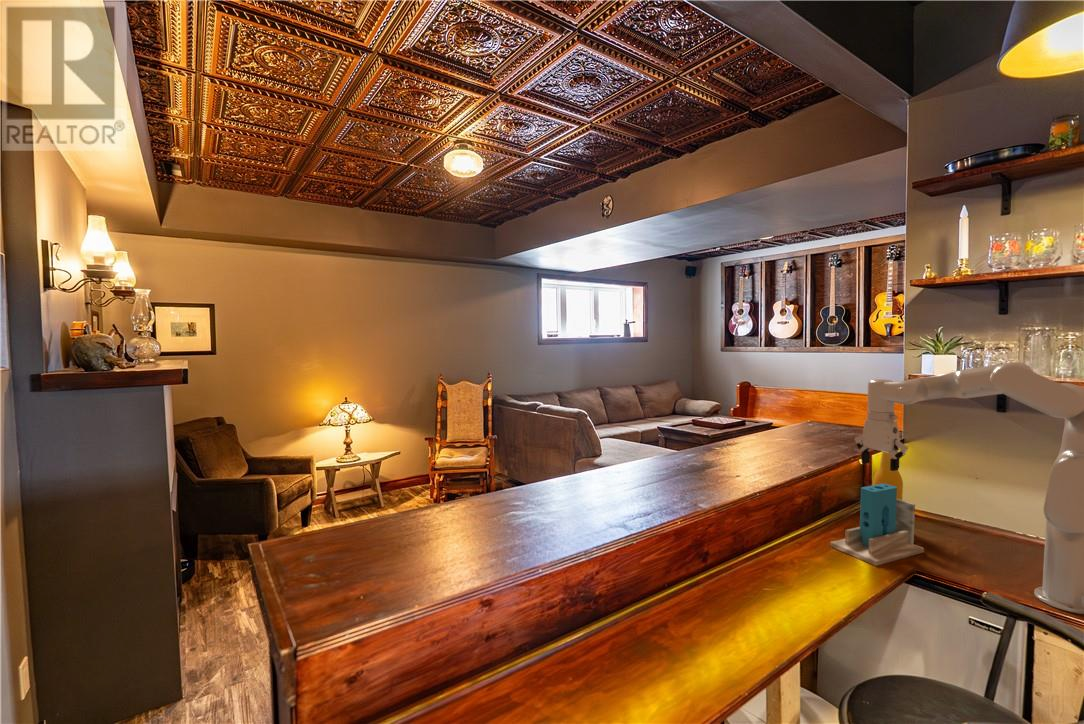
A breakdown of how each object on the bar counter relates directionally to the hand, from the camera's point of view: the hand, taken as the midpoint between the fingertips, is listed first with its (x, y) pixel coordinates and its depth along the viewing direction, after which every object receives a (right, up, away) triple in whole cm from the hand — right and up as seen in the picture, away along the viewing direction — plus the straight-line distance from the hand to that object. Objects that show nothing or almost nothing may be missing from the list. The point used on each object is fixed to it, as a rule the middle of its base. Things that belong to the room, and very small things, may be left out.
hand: (879, 466), depth 171 cm
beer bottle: (+16, -27, +21) cm, 38 cm away
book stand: (0, -29, +2) cm, 29 cm away
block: (0, -27, +2) cm, 27 cm away
